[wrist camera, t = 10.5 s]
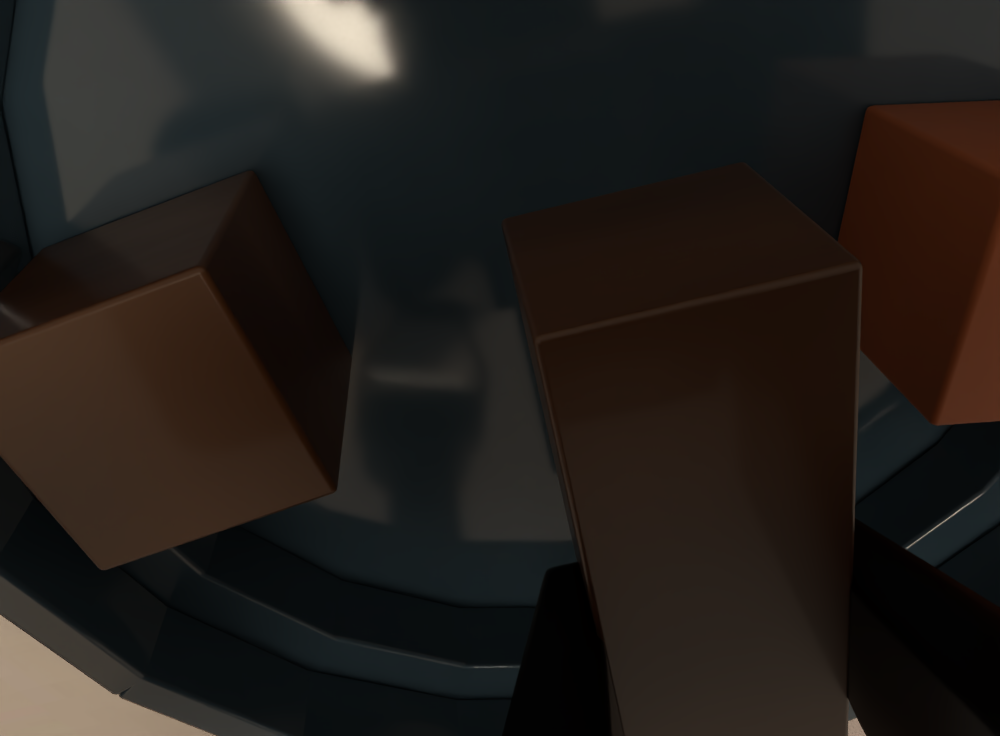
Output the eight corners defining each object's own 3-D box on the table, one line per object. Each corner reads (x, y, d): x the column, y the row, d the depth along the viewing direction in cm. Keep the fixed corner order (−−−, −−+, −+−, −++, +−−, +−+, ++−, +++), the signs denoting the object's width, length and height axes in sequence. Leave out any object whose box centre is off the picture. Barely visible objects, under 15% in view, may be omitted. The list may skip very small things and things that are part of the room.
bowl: (1080, 520, 16) (1220, 654, 13) (229, 711, 16) (193, 879, 14) (1431, -978, 7) (2120, -1550, 4) (-511, -453, 7) (-1063, -649, 4)
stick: (771, 680, 12) (845, 847, 10) (611, 716, 12) (653, 888, 10) (745, 158, 8) (866, 262, 6) (498, 216, 8) (531, 341, 6)
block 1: (354, 358, 12) (339, 495, 9) (166, 425, 12) (100, 575, 9) (253, 167, 10) (201, 264, 8) (39, 248, 10) (-80, 370, 8)
